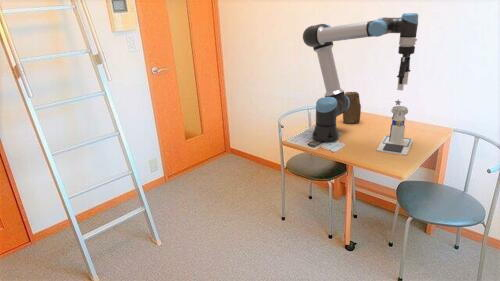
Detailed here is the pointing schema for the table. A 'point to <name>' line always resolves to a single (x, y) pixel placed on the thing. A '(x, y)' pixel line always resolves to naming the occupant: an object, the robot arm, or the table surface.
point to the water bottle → (398, 123)
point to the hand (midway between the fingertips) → (402, 87)
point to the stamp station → (395, 146)
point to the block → (352, 108)
